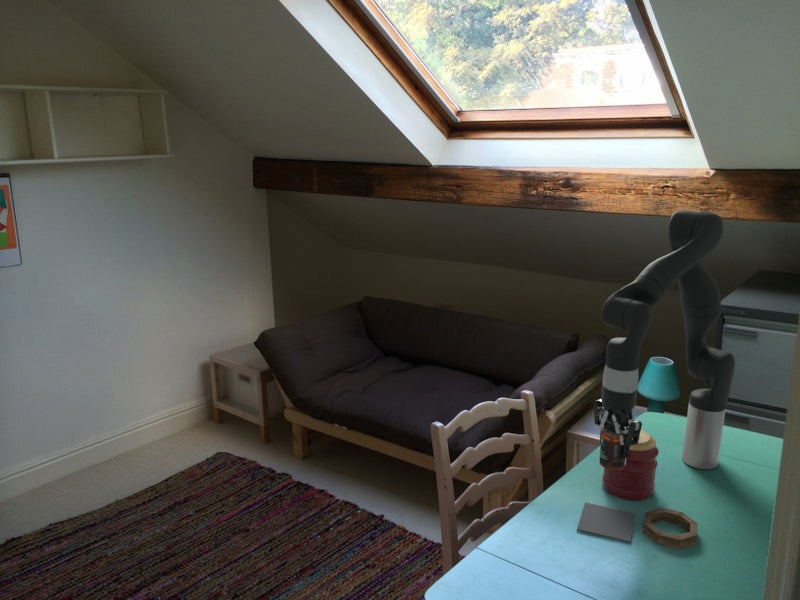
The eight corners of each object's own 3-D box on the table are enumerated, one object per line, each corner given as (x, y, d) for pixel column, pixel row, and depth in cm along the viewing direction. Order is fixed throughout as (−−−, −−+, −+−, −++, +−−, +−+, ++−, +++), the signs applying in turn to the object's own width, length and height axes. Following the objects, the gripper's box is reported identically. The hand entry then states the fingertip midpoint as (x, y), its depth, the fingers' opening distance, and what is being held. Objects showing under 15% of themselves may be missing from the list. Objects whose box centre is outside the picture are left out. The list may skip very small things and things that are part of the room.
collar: (645, 513, 169) (646, 504, 169) (696, 524, 165) (697, 515, 164) (641, 540, 159) (642, 531, 158) (695, 553, 155) (697, 543, 154)
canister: (664, 498, 175) (671, 436, 170) (617, 505, 173) (623, 441, 168) (637, 472, 188) (643, 413, 183) (592, 477, 185) (598, 417, 180)
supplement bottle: (631, 467, 160) (635, 422, 157) (613, 474, 157) (618, 429, 154) (610, 456, 165) (614, 412, 162) (593, 463, 162) (597, 419, 159)
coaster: (584, 504, 173) (585, 502, 173) (635, 515, 168) (635, 513, 168) (576, 531, 162) (576, 528, 162) (630, 543, 158) (630, 541, 158)
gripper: (586, 375, 160) (581, 440, 165) (627, 399, 148) (620, 469, 152) (613, 370, 163) (607, 434, 168) (655, 394, 150) (648, 463, 155)
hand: (613, 451), depth 160 cm, fingers closed on supplement bottle, 6 cm apart
